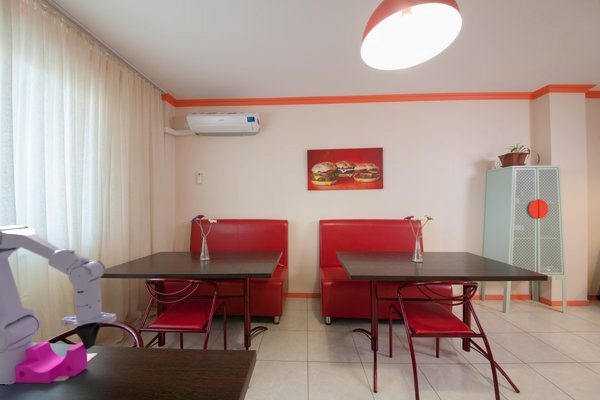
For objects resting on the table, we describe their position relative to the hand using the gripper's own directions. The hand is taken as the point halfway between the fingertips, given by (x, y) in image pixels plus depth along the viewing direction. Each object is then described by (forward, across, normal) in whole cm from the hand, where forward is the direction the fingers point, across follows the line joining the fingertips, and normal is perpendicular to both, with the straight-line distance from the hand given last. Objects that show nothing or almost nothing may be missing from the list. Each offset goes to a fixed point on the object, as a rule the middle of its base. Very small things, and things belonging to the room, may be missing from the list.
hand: (89, 346), depth 69 cm
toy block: (+6, -9, -2) cm, 11 cm away
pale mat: (+6, -7, +1) cm, 9 cm away
